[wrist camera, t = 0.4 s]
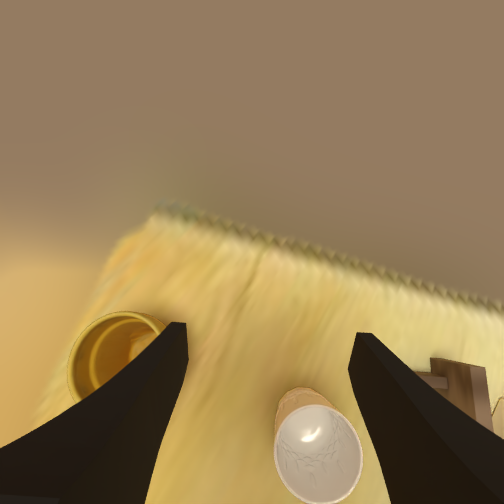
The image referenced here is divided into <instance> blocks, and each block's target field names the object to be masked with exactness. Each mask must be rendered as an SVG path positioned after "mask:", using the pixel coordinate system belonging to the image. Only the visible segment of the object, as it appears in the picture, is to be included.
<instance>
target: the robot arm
mask: <svg viewBox="0 0 504 504" xmlns="http://www.w3.org/2000/svg"><path fill="white" fill-rule="evenodd" d="M188 360H189V359H188V344H187V328H186V323H180V322H171V323H170V324H169V325H168V326H167V327H166V328H165V329H164V330H163V331H162V332H161V333H160V334H159V335H158V336H157V337H156V338H155V339H154V340H153V341H152V342H151V343H150V344H149V345H148V346H147V347H146V348H145V349H144V350H143V351H142V352H141V353H140V354H139V355H138V356H136V357H135V358H134V359H133V360H132V361H131V362H130V363H129V364H127V365H126V366H125V367H124V368H123V369H122V370H121V371H119V372H118V373H117V374H116V375H115V376H113V377H112V378H111V379H110V380H108V381H107V382H106V383H105V384H103V385H102V386H101V387H99V388H98V389H97V390H95V391H94V392H93V393H91V394H90V395H88V396H87V397H86V398H84V399H83V400H81V401H80V402H78V403H77V404H75V405H73V406H72V407H70V408H69V409H67V410H66V411H64V412H63V413H61V414H60V415H58V416H57V417H55V418H53V419H52V420H50V421H48V422H47V423H45V424H43V425H42V426H40V427H38V428H37V429H35V430H33V431H31V432H30V433H28V434H26V435H24V436H22V437H21V438H19V439H17V440H15V441H13V442H11V443H10V444H8V445H6V446H4V447H2V448H0V504H145V500H146V496H147V492H148V489H149V485H150V481H151V477H152V474H153V470H154V466H155V463H156V459H157V455H158V452H159V449H160V445H161V442H162V439H163V437H164V434H165V431H166V428H167V426H168V423H169V420H170V417H171V415H172V412H173V409H174V407H175V404H176V401H177V398H178V396H179V393H180V390H181V387H182V384H183V381H184V377H185V373H186V369H187V364H188ZM348 372H349V376H350V380H351V384H352V388H353V392H354V395H355V398H356V401H357V403H358V406H359V409H360V411H361V414H362V417H363V419H364V422H365V425H366V427H367V430H368V433H369V435H370V438H371V440H372V443H373V446H374V448H375V451H376V454H377V457H378V460H379V463H380V466H381V469H382V473H383V476H384V480H385V483H386V487H387V490H388V494H389V497H390V501H391V504H504V439H502V438H501V437H499V436H498V435H496V434H495V433H493V432H492V431H490V430H489V429H487V428H486V427H484V426H483V425H481V424H480V423H478V422H477V421H476V420H474V419H473V418H471V417H470V416H469V415H467V414H466V413H464V412H463V411H462V410H460V409H459V408H458V407H456V406H455V405H454V404H452V403H451V402H450V401H448V400H447V399H446V398H444V397H443V396H442V395H441V394H439V393H438V392H437V391H436V390H435V389H433V388H432V387H431V386H430V385H429V384H427V383H426V382H425V381H424V380H423V379H421V378H420V377H419V376H418V375H417V374H416V373H415V372H413V371H412V370H411V369H410V368H409V367H408V366H407V365H406V364H404V363H403V362H402V361H401V360H400V359H399V358H398V357H397V356H396V355H395V354H394V353H393V352H391V351H390V350H389V349H388V348H387V347H386V346H385V345H384V344H383V343H382V342H381V341H380V340H379V339H378V338H376V337H375V336H374V335H373V334H372V333H361V332H357V333H356V338H355V342H354V346H353V350H352V354H351V358H350V362H349V366H348Z"/></svg>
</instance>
